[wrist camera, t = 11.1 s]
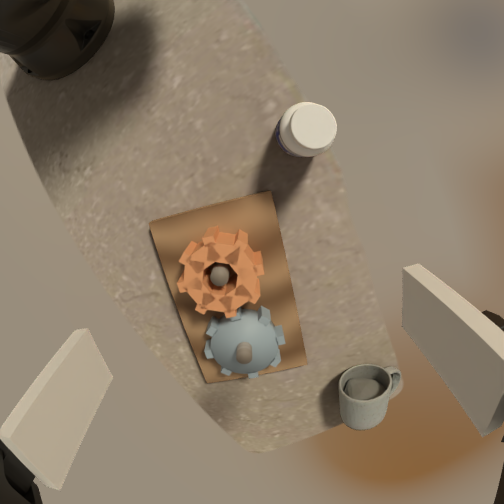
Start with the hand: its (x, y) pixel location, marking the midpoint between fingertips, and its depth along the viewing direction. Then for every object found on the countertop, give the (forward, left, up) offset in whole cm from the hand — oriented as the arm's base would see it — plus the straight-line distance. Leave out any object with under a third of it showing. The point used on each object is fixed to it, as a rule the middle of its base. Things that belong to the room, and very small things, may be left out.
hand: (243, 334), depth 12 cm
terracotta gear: (+4, -4, -23) cm, 24 cm away
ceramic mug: (+28, +12, -25) cm, 39 cm away
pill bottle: (-8, +8, -25) cm, 27 cm away
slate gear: (+14, -4, -23) cm, 27 cm away
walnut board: (+9, -4, -24) cm, 26 cm away
